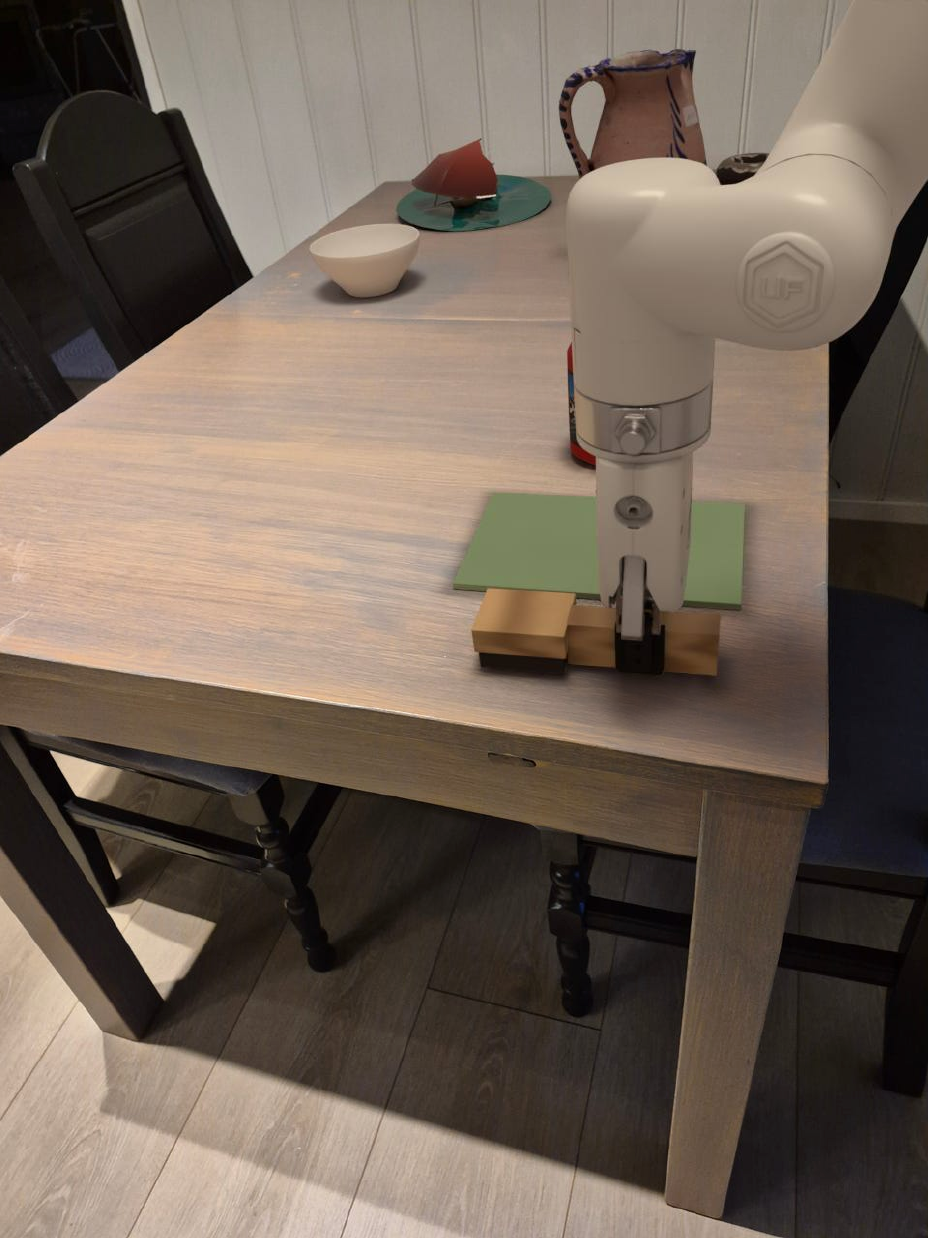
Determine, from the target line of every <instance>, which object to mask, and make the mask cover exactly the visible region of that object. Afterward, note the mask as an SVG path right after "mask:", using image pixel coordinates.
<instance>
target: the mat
mask: <svg viewBox="0 0 928 1238" xmlns="http://www.w3.org/2000/svg"><path fill="white" fill-rule="evenodd" d="M745 520H746V503H739V502H719V501H718V502H716V501H694V500H692V508H691V542H690V553H689V563H688V571H687V580H686V588H685V595H684V602H683V605H682V607H693V608H705V609H720V610H732V611H741V610H742V606H743V581H744V553H745V552H744V551H745V550H744V549H745V524H746V523H745V522H746V521H745ZM452 585H453V590H464V591H477V592H478V591H479V592H486V591H487V589H488V588H491V589H508V590H525V591H543V592H560V593H575V594H576V599H585V600H597V601H598V600H599V601H601V597H600V588H599V574H598V552H597V516H596V496H579V495H559V494H558V495H556V494H534V493H510V492H492V495H491V497H490V499H489V501H488V503H487V506H486V508H485V510H484V512H483V515H482V517H481V519H480V522H479V524H478V526H477V528H476V530H475V533H474V535H473V537H472V540H471V541H470V544H469V546H468V549H467V550H466V553H465V555H464V557H463V560H462V562H461V564H460V566H459V569H458V571H457V573H456V575H455V577H454V580H453V582H452ZM615 602H616V600H615Z"/></svg>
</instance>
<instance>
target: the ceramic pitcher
mask: <svg viewBox="0 0 928 1238" xmlns="http://www.w3.org/2000/svg"><path fill="white" fill-rule="evenodd" d="M696 55H697V50H695V49H689V50H686V49H681V48H675V49H672V50H670V51H668V52H665V53H661V52H660V51H658V50H652V49H644V50H637V51H628V52H626V53H623V54H620V55H616V56H612V57H607V58H605V59H602V60H600V61H599V63H598V64H595V65H588V66H585V67H581V68H578V69H577V70H575V71H574V72H573V73H571V74H570V76H568V77H567V78H566V79H565V82H564V84H563V87H562V90H561V92H560V98H559V100H558V116H559V124H560V127H561V131H562V134H563V138H564V140H565V144H566V146H567V148H568V151H569V153H570V155H571V158H572V161H573V163H574V166H575V168H576V172H577V175H578V179H579V180H580V179H581V178H582V177H583V176H584V175H586V174H588V173H590V172H592V171H594V170H596V169H598V168H601V167H603V166H607V165H610V164H614V163H618V162H624V161H629V160H636V159H646V158H682V159H688V160H692V161H696V162H699V163H702V164H704V165H706V166H707V167H708V163H707V157H706V150H705V144H704V138H703V132H702V129H701V125H700V118H699V114H698V109H697V105H696V100H695V94H694V86H693V72H694V66H695V65H694V64H695V58H696ZM589 82H590V83H592V82H595V83H597V84H598V85H600V87H601V88H602V91H603V95H604V104H603V107H602V108H603V109H602V112H601V115H600V119H599V123H598V127H597V130H596V134H595V137H594V141H593V145H592V148H591V151H590V152H591V153H590V157H589V158H588V157H587V154H586V153H585V151H584V150H583V148H582V147H581V144H580V140H578V137H577V135H576V130H575V126H574V120H573V115H572V113H573V112H572V105H573V102H574V99H575V96H576V95H577V93H578V91H579V89H580V88H581V87H583V86H584V85H586V84H587V83H589Z"/></svg>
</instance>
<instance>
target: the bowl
mask: <svg viewBox="0 0 928 1238" xmlns="http://www.w3.org/2000/svg"><path fill="white" fill-rule="evenodd" d="M420 238H421V237H420V232H419V230H418V229H417V228H415V227H413V226H411V225H408V224H400V223H376V224H375V223H374V224H366V225H364V224H363V225H359V226H353V227H348V228H344V229H340V230H337V231H333V232H330V233H328V234H326V235H323V236H321V237H319V238H317V239H315V240H314V241H313V242H312V243H311V244H310V245H309V252H310V255H311V258H312V260H313V261H314V263H315V265H316V266H317V267H318V268H319V269H320V270H321V271H322V272H323V274H324V275H326V276H327V277H328V278H329V279H330V280H332V281H333V282H334V283H336V284H337V285H338V286H339V287H340V288H342V289H343V290H344V291H345V292H346V294H348V295H349V296H351V297H354V298H373V297H379V296H384V295H386V294H387V295H388V294H389V293H391V292H393V291H395V290H396V289H397V288H398V286H399V284H400V281H401V280H402V278H403V276H404V275H405V273H406V271H408V269H409V267H410V266H411V265H412V263H413V261H414V259H415V257H416V255H417V253H418V250H419V248H420V247H419V246H420V242H421V241H420V240H421V239H420Z"/></svg>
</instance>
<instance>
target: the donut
mask: <svg viewBox="0 0 928 1238" xmlns="http://www.w3.org/2000/svg"><path fill="white" fill-rule="evenodd" d="M769 154H770V152H769V153H768V152H748V153H741V154H735V155H731V156H729V157H727V158H725V159H723V160H722V161H721V162H720V163H719V164H718V166H717V168H716V172H715V173H716V174H715V175H716V176H717V178H718V179H719V182H720V185H731V184H737V183H740V182H743V181H745V180H747V179H749V178H751V177H753V176H754V175H755V174H756V173H757V171H758V170H759V169H760V168H761V167H762V165H763V164H764V162H765V161H766V159H767V157H768V156H769Z"/></svg>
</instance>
